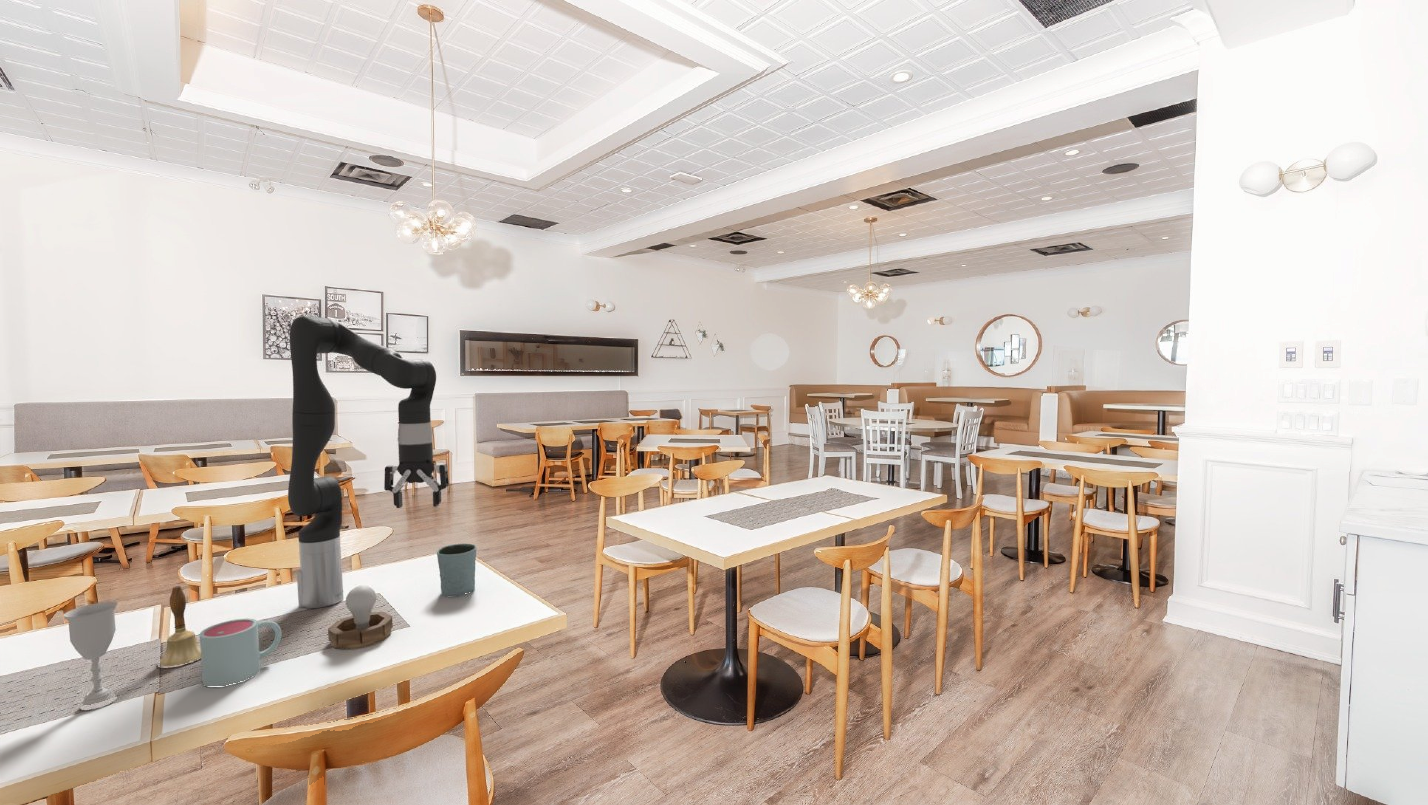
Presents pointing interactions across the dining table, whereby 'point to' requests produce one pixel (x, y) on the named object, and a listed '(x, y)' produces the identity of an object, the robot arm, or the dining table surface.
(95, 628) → the chalice
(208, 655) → the mug
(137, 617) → the dining table surface
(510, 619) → the dining table surface
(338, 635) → the holder
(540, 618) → the dining table surface
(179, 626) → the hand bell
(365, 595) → the lightbulb
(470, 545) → the teal cylindrical pot
